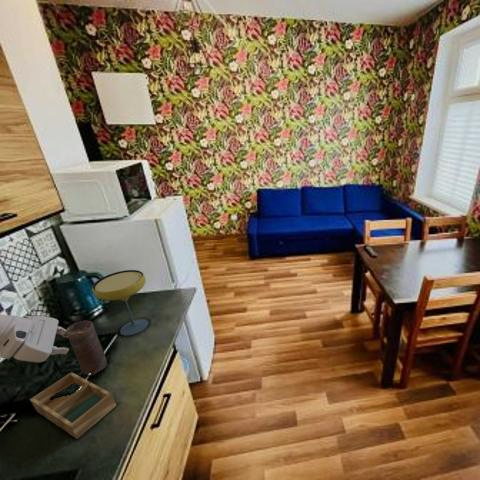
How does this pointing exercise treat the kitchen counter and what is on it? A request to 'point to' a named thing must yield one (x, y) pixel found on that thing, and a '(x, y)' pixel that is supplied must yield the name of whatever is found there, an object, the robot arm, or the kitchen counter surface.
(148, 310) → the kitchen counter surface
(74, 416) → the tray
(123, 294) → the cocktail glass
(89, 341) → the candle
